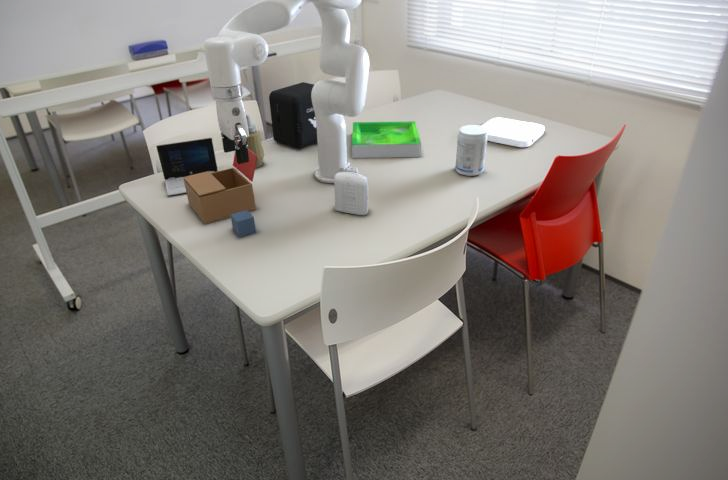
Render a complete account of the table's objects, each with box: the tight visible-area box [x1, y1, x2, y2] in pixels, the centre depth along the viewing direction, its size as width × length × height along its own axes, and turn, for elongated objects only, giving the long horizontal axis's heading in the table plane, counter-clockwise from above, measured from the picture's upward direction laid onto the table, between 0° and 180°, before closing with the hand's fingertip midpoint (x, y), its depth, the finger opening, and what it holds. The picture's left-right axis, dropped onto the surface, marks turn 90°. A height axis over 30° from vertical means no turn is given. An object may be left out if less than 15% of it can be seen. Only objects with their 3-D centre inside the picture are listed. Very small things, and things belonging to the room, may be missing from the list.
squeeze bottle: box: [246, 114, 265, 169], centre depth 178 cm, size 8×8×18 cm
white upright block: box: [333, 172, 369, 216], centre depth 149 cm, size 10×4×12 cm, turn 69°
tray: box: [351, 120, 422, 159], centre depth 196 cm, size 25×25×5 cm
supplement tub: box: [454, 124, 488, 177], centre depth 171 cm, size 10×10×15 cm
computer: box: [481, 116, 546, 148], centre depth 202 cm, size 22×22×3 cm
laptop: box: [156, 137, 219, 196], centre depth 167 cm, size 18×12×13 cm
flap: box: [232, 140, 258, 183], centre depth 154 cm, size 8×15×1 cm
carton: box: [182, 166, 257, 225], centre depth 154 cm, size 16×15×9 cm
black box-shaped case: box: [268, 81, 318, 151], centre depth 197 cm, size 20×15×20 cm
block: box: [230, 210, 257, 238], centre depth 143 cm, size 5×5×5 cm
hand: (236, 156), depth 136 cm, fingers open, 9 cm apart
